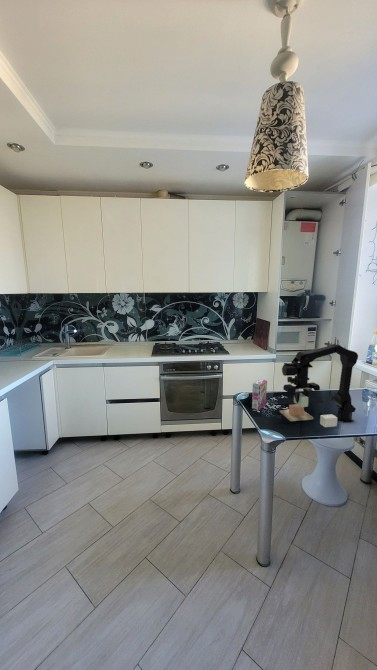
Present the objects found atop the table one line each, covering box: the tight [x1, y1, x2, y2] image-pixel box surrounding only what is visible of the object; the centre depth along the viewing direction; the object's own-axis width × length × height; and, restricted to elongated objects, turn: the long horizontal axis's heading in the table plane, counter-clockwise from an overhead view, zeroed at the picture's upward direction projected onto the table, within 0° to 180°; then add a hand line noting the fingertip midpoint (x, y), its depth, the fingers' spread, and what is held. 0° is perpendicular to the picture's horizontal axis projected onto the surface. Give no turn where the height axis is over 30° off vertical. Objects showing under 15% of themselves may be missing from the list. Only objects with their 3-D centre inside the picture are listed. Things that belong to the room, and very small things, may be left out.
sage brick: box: [293, 392, 309, 408], centre depth 142 cm, size 7×4×5 cm, turn 10°
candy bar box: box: [251, 379, 268, 411], centre depth 161 cm, size 11×5×16 cm, turn 141°
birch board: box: [279, 409, 314, 422], centre depth 150 cm, size 14×12×1 cm
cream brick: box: [319, 413, 338, 428], centre depth 139 cm, size 7×4×5 cm, turn 99°
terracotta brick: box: [288, 403, 305, 416], centre depth 150 cm, size 7×4×5 cm, turn 99°
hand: (300, 402), depth 142 cm, fingers closed on sage brick, 4 cm apart
